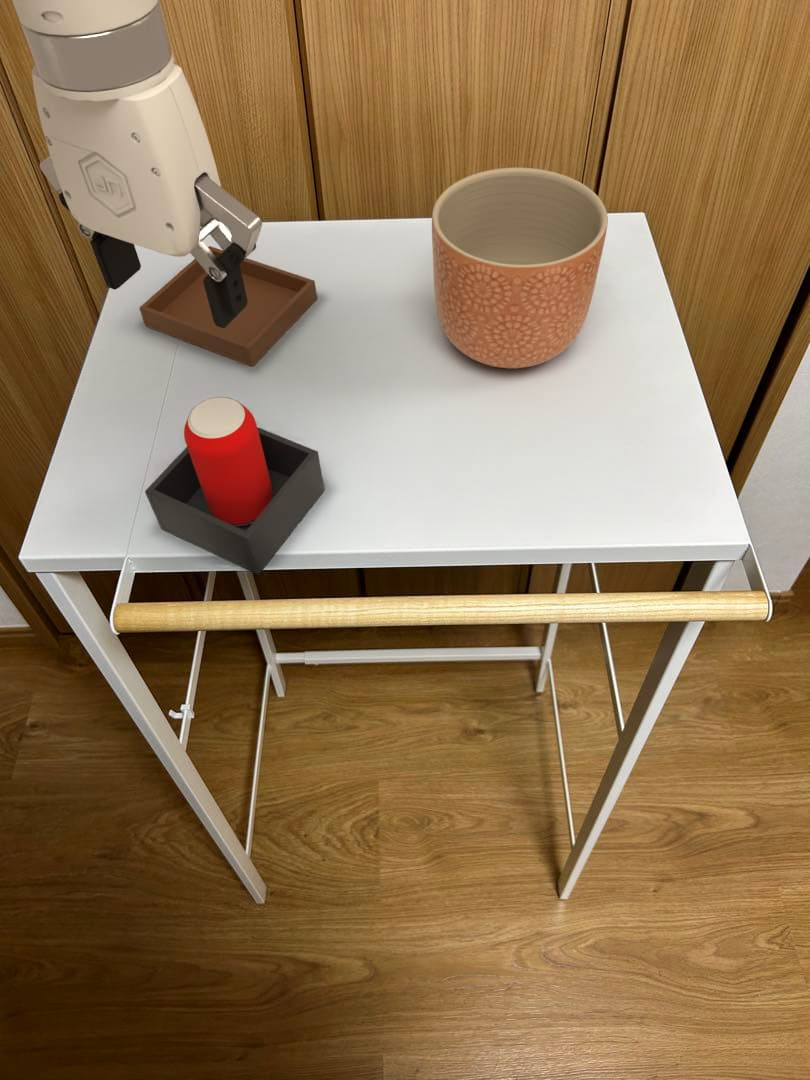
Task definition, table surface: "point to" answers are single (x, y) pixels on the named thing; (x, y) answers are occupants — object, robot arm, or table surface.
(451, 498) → the table surface
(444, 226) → the planter
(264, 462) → the beverage can
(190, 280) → the tray
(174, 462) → the bin
